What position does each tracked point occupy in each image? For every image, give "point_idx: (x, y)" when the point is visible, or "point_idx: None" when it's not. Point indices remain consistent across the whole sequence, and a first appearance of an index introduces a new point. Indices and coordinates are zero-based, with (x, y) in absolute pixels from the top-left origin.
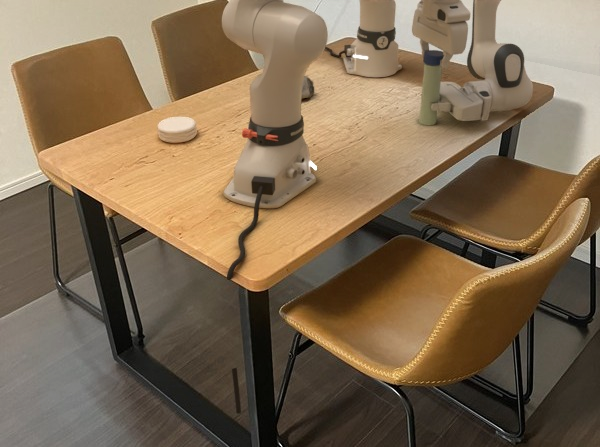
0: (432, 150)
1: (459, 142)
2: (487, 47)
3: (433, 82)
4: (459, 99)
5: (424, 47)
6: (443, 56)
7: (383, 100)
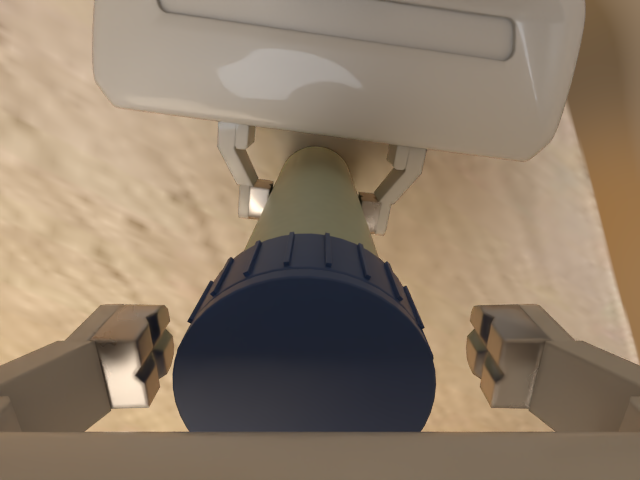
0: (536, 291)
1: (541, 170)
2: None
3: None
4: (436, 88)
5: (69, 413)
6: (421, 333)
7: (36, 235)
